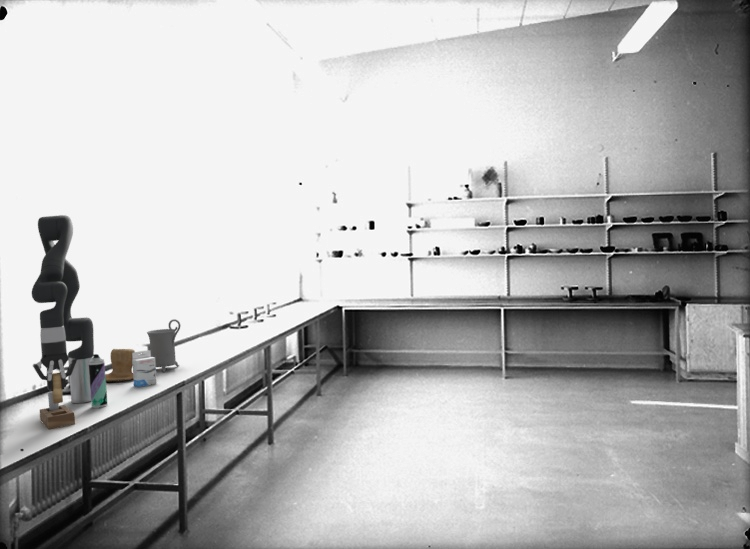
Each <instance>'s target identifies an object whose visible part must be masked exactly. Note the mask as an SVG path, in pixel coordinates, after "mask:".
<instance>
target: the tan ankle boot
mask: <svg viewBox="0 0 750 549" xmlns="http://www.w3.org/2000/svg"><path fill="white" fill-rule="evenodd" d="M133 352H136V351H135V349H133V348H113V349H111V352H110V362H111V366H112V371H111V372H109V373H105V377H106V383H107V382H108V383H109V382H110V383H111V382H112V381H116V382H126V381H130V380H133V364H132V360H133V357H132V353H133Z"/></svg>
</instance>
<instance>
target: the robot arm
mask: <svg viewBox="0 0 750 549" xmlns="http://www.w3.org/2000/svg"><path fill="white" fill-rule="evenodd" d="M37 230H38V234H39V238H40V240H41V243H42V246H43V250H44V253H45V255H44V257H43V258H42V261H41V267H40V273H39V275H38V277H37V279H36V280H35V282H34V284H33V286H32V289H31V298H32V300H33V301H34V302H36V303H37V304H45V303H46V304H49V303H55V305H54V306H53V307H52V308H49V309H45V310H44V309H43V310H42V311H40V313H39V324H40V325H39V326H40V347H41V349H40V350H41V358H40V361H38V362H36V363H33V364H32V368H33V369H34V371H35V372H36V374H37V376H39V378H40V380H42V381H46V388H47V390H48V391H49V392H52V391H53V382H52V373H53V371H55V370H58V373H61V382H62V391H63V390H65V388H67V380H66V379H67V377H69V385H70V387H69V388H70V389H69V390H70V398H71V399H70V400H71V403H73V404H82V403H89V402H91V389H90V375H89V361H90V360H91V359H92V358H93V357H94V354H95V353H94V352H95V344H94V324H93V320H92V319H91V318H90V317H75V318H74V317H73V318H72V314H71V313H72V311H71V310H72V306H73V303H74V301H75V299H76V297H77V296H78V293H79V291H80V281H79V276H78V270H77V269H76V267H75V266H74V265H73V264H72V263H70V261H69V260H68V259H66V257H67V255H68V252H69V248H70V244H71V242H72V239H73V236H74V235H73V234H74V226H73V221H72V219H71V217H69V216H68V215H67V214H64V215H63V214H60V215H48V216H41V217H39V218H38V220H37ZM55 241H57V242H56V243H55ZM67 342H81V345H79V347H77V348H75V349H73V350H70V351H68V352H67ZM67 362H68V367H67V371H66V369H65V366H66V364H67ZM42 365H43V367H45V368H46V375H45V374H44V373H43V371H42ZM65 371H66V372H65Z"/></svg>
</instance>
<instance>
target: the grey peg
mask: <svg viewBox="0 0 750 549" xmlns="http://www.w3.org/2000/svg"><path fill="white" fill-rule="evenodd" d="M47 394H48V395H47V396H48V408H49V411H53V410H59V406H60V403H56V404H54V403H53V395H52V391H49V392H47Z"/></svg>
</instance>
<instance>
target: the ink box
mask: <svg viewBox="0 0 750 549" xmlns="http://www.w3.org/2000/svg"><path fill="white" fill-rule="evenodd" d="M132 357H133V360H132V364H133V366H132V373H133V379H132V380H133V386H134V387H137V388H140V387H145V386H146V387H147V386H151V384H152V385H156V383H157V382H158V381H157V369H156V368H157V367H156V364H155V357H151V352H150V349H148V350H141V351H140V350H139V351H135V352H133V353H132ZM157 384H158V383H157Z"/></svg>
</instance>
